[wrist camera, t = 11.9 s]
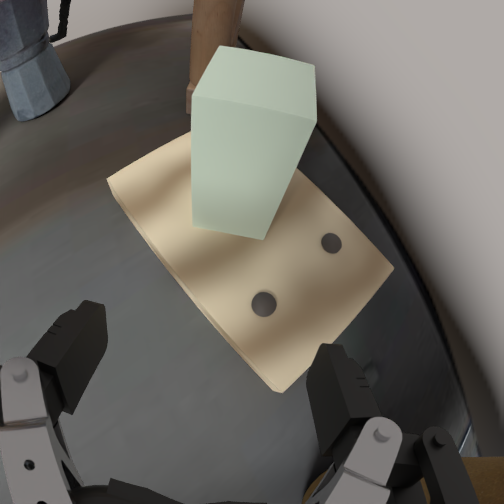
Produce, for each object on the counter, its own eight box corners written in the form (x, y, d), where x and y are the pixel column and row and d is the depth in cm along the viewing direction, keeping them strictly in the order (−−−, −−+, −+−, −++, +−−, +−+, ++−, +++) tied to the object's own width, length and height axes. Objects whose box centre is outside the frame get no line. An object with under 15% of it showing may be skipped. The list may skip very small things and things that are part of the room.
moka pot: (19, 89, 27) (-11, -15, 9) (105, 71, 30) (92, -57, 12) (-9, 132, 23) (-58, 18, 5) (82, 114, 26) (50, -42, 8)
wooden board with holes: (113, 196, 23) (94, 144, 17) (228, 130, 28) (237, 78, 22) (273, 390, 19) (303, 397, 13) (378, 278, 24) (424, 247, 18)
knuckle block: (192, 226, 20) (191, 95, 10) (207, 171, 22) (219, 45, 12) (263, 240, 20) (317, 121, 10) (270, 183, 23) (314, 65, 13)
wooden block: (232, 70, 33) (255, -53, 16) (219, 119, 28) (244, -45, 12) (204, 67, 32) (219, -56, 16) (184, 115, 28) (193, -48, 11)
